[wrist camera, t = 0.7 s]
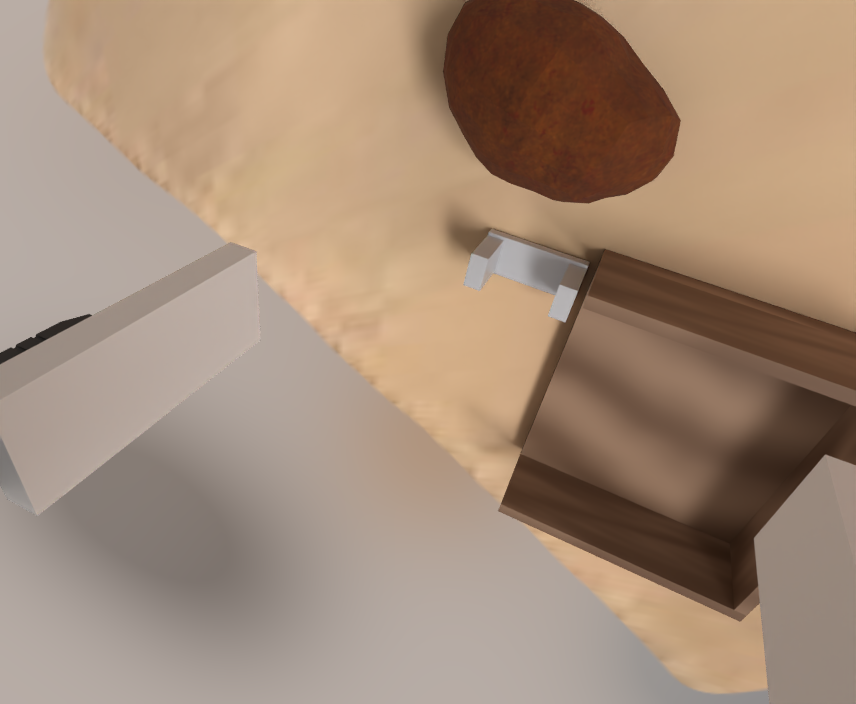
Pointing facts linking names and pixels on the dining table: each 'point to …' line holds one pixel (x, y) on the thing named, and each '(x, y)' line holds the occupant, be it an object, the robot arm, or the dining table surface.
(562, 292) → the clip
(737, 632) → the dining table surface
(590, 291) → the holder
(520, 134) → the potato
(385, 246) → the dining table surface
